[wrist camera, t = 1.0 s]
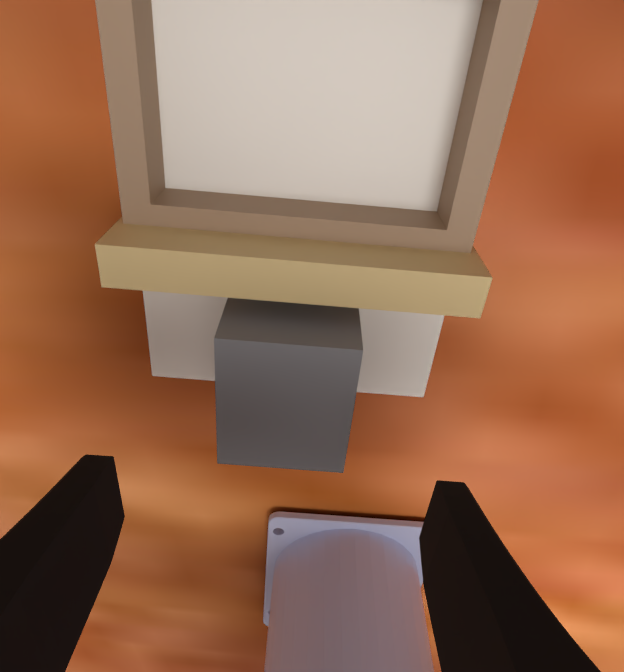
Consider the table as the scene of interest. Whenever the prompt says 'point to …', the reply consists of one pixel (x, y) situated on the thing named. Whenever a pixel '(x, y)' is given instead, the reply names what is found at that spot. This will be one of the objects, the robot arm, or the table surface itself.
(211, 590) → the table surface
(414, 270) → the door board
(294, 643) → the robot arm
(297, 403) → the gray block
